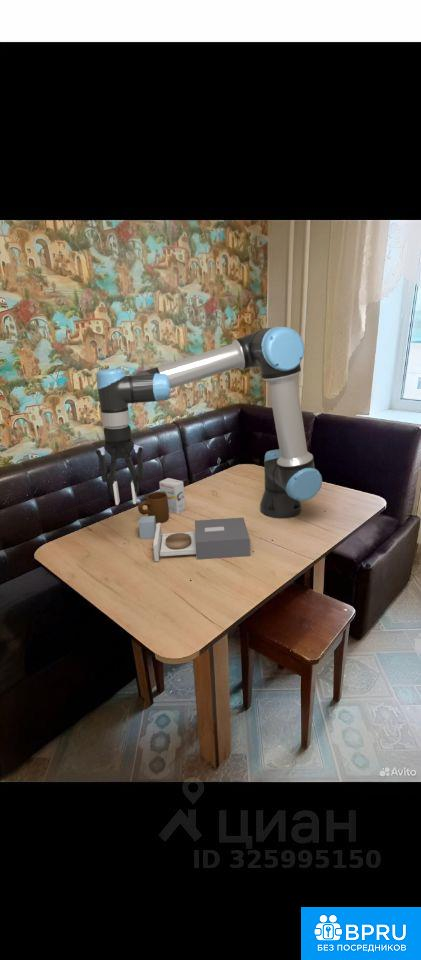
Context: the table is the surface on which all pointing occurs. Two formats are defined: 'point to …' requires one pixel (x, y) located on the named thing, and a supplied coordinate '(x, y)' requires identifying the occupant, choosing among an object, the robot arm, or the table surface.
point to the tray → (164, 549)
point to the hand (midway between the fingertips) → (126, 502)
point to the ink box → (173, 494)
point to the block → (147, 527)
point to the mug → (156, 507)
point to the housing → (221, 538)
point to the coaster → (178, 541)
